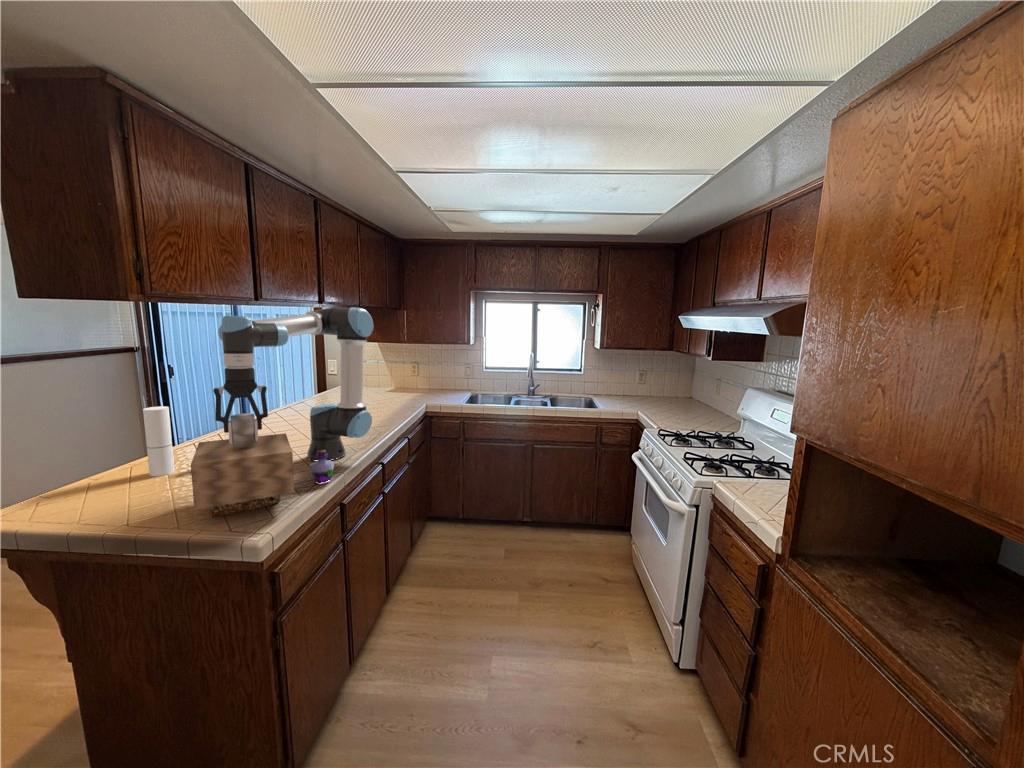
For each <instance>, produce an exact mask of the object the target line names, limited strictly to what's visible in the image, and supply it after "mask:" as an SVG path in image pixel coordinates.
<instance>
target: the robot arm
mask: <svg viewBox="0 0 1024 768" xmlns="http://www.w3.org/2000/svg"><path fill="white" fill-rule="evenodd" d="M373 331H374V321H373V318H372V316H371V314H370V313H369V312H368V311H367V309H364V308H361V307H356V306H354V307H353V306H352V307H337V306H335V307H327V308H323V309H322V308H321V309H316V310H310V311H307V312H305V314H298V315H290V316H289V315H288V316H281V317H271V318H262V319H255V320H254V319H253V320H252V318H251V316H248V315H247V316H246V315H244V316H243V315H224V316H223V317H222V318H221V325H220V326H219V327H218V337H219V339H220V340H221V341H222V348H223V349H222V350H223V354H222V355H223V366H224V367H225V368H224V384H223V386H220V387H214V388H213V390H212V391H213V394H214V396H215V421H216V422H222V423H223V432H224V433H225V434H228V439H229V444H232V443H233V442H232V427H231V420H229V419H230V418H231V413H232V410H233V406H234V403H235V400H236V399H239V398H245V399H246V398H247V400H248V402H249V404H250V406H251V409H252V411H253V414H254V416H255V417H256V418H254V423H255V440H256V441H258V436H259V430H262V429H263V425H262V424H263V423H262V420H263V419H265V418H268V417H269V414H268V413H269V411H268V405H267V398H266V393H267V386H266V385H265V384H264V385H260V384H258V383H257V382H256V375H255V374H256V373H255V372H256V371H255V368H254V366H255V360H254V359H255V357H254V354H255V353H254V348H259V347H260V348H263V347H264V348H267V347H268V348H270V347H274V348H278V347H281V346H285V345H286V344H287V343H288V341H289V338H291V337H296V336H301V335H308V334H310V335H311V336H312V335H313V336H317V335H329V336H336V341H338V343H340V401H339V403H337V402H336V403H325V404H319V405H315V406H313V407H311V408H310V413H309V421H310V422H309V424H310V439H311V440H310V444H309V447H308V449H307V455H306V456H307V460H308V459H310V460H318V459H316V454H317V451H319V450H326V453H328V458H326V460H331V459H336V458H339V457H341V456H343V455H345V456H346V448H345V445H344V443H343V441H342V438H341V437H346V438H350V439H353V438H355V439H360V438H363V437H364V436H366V435H367V434H368V432H369V431H370V429H371V427H372V423H373V416H372V414H371V412H369V411H367V405H366V403H365V402H364V401H363V399H364V397H363V396H364V395H363V390H364V389H363V388H364V383H363V382H364V345H365V344H366V343H367V342H368V337H370V336H371V335H372V333H373ZM256 389H257V392H259V393H260V399H261V407H262V413H261V412H260V411H259V408H258V406H257V404H256V401H255V399H254V396H253V393H254V392H255V391H256ZM224 391H226V393H228V394H229V396H230V397H229V401H228V403H227V408H226V411H225V412H224V416H222V395H223V394H224ZM310 460H309V461H310Z"/></svg>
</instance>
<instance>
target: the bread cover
mask: <svg viewBox="0 0 1024 768" xmlns="http://www.w3.org/2000/svg"><path fill="white" fill-rule="evenodd" d="M254 419H255V413H248V412H247V413H236V414H233V415H230V421H231V427H232V442H233V443H232V444H229V438H228V439H217V440H207V441H199V442H198V445H197V447H196V449H195V452H194V454H193V457H192V461H191V463H190V471H191V472H190V473H191V487H192V497H193V511H198V510H203V509H210V507H215V506H221V505H227V504H232V503H238V502H244V501H250V500H255V499H261V498H267V497H272V496H278V495H280V496H283V495H290V494H294V493H295V482H294V481H295V477H294V476H295V475H294V457H293V455H294V454H293V450H292V447H291V444H290V442H289V439H288V436H287V434H286V433H285V432H284V433H276V434H275V433H274V434H265V435H258V441H256V440H255V423H254Z"/></svg>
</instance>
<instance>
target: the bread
mask: <svg viewBox="0 0 1024 768" xmlns="http://www.w3.org/2000/svg"><path fill="white" fill-rule="evenodd" d="M280 502H281V495H278V496H272V497H267V498H261V499H255V500H250V501H244V502H238V503H232V504H227V505H221V506H215V507H210V508H209V509H210V513H211V517H212V518H216V517H217V516H218V517H220V516H225V515H226V516H227V515H230V514H237V513H240V512H245V511H249V510H254V509H256V508H257V509H258V508H262V507H267V506H272V505H273V504H278V503H280Z"/></svg>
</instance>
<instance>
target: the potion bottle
mask: <svg viewBox="0 0 1024 768" xmlns="http://www.w3.org/2000/svg"><path fill="white" fill-rule="evenodd" d="M326 458H328V453H326V450H319V451H317V454H316V459H318V461H316V462H315V461H313V462H311V463H310V464H309V468H310V472H311V476H313V479H314V483H315V482H318V483H321V482H326V481H328V480H331V478H332V475H333V474H334V467H335V460H333V461H329V460H326ZM331 481H332V480H331Z"/></svg>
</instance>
